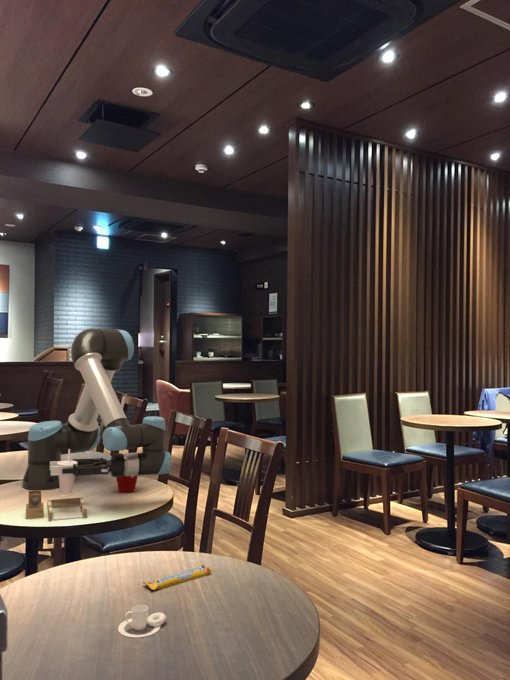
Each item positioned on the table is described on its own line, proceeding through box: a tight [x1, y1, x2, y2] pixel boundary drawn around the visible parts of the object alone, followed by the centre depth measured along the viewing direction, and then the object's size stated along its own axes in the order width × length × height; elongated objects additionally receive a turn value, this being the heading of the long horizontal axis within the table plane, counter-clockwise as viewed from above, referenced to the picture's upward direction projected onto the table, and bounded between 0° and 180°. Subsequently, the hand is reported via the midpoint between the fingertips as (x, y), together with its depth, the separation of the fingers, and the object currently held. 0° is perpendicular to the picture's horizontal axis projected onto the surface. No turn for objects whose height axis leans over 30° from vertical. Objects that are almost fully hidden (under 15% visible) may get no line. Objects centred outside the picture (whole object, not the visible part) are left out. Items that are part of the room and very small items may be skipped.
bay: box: [46, 496, 88, 522], centre depth 182 cm, size 15×11×2 cm
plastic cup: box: [115, 475, 139, 494], centre depth 210 cm, size 11×11×12 cm
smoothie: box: [57, 449, 77, 495], centre depth 185 cm, size 6×6×14 cm
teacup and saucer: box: [117, 604, 167, 639], centre depth 110 cm, size 9×8×4 cm
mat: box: [53, 511, 83, 521], centre depth 178 cm, size 6×8×1 cm
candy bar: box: [142, 564, 213, 591], centre depth 132 cm, size 17×4×2 cm, turn 130°
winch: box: [25, 490, 45, 520], centre depth 179 cm, size 6×5×7 cm
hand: (50, 468), depth 183 cm, fingers closed on smoothie, 6 cm apart
